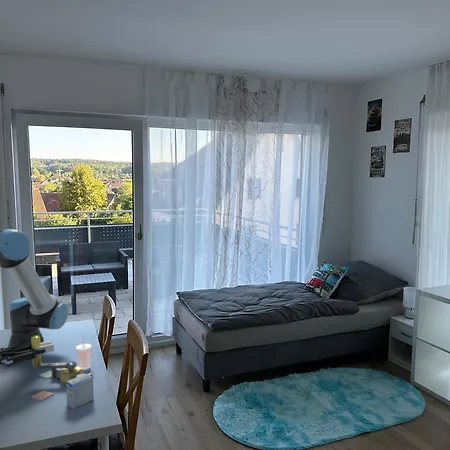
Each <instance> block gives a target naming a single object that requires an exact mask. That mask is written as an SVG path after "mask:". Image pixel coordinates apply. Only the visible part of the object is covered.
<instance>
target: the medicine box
mask: <svg viewBox="0 0 450 450" xmlns="http://www.w3.org/2000/svg"><path fill="white" fill-rule="evenodd" d="M83 374H84V375H81V376H78V377H76V378H74V379H71V380H69V381H67V382H66V385H65V391H66V405H67V406H68V407H70V408H71V409H72V410H73V409H77V408H79V407H81V406H83V405H85V404H88V403H89V402H92V401H94V400H95V399H94V397H95V396H94V377H93V376H92V377H91V376H90V375H88V374H89V373H83Z"/></svg>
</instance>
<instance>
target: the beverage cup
mask: <svg viewBox="0 0 450 450" xmlns="http://www.w3.org/2000/svg"><path fill="white" fill-rule="evenodd" d="M91 349H92V344H91V343H85V334H82V343H80V344H77V345H76V346H75V350H76V355H77V356H76V357H77V364H78V365H77V367H80V368H82V369H83V371H84V370H85V371H86V370H89V369H90V368H91V356H92V355H91V353H92V352H91V351H92V350H91Z"/></svg>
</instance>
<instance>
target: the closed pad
mask: <svg viewBox="0 0 450 450" xmlns="http://www.w3.org/2000/svg"><path fill="white" fill-rule="evenodd" d="M51 396H54V393H52V392H49V391H48V390H45V389H44V390H42V391H40V392H38V393H36V394H33V395H32V396H31V398H32V399H35V400H37V401H39V402H42V401H43V400H46V399H48V398H50V397H51Z"/></svg>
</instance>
